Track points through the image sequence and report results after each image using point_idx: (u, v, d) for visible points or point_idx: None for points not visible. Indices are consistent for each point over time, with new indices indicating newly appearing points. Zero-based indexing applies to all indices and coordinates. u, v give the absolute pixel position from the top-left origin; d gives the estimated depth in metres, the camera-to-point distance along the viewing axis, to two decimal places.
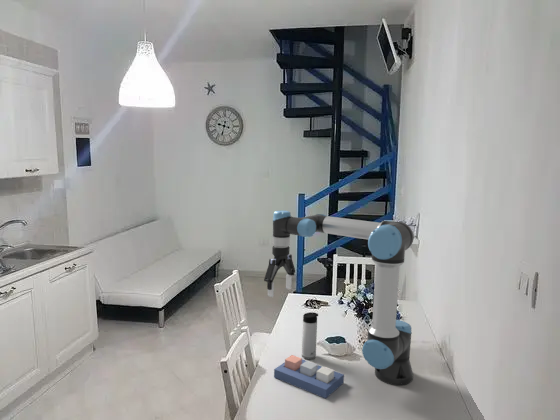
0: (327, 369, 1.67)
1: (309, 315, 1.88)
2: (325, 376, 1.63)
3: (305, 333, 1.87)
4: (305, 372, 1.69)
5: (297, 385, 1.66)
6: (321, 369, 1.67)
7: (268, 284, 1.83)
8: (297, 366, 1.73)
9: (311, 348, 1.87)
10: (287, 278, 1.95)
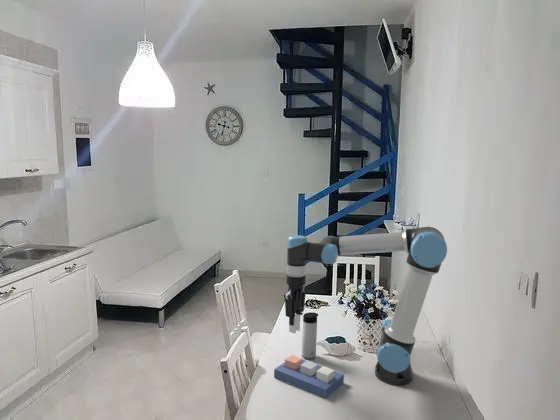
0: (327, 369, 1.67)
1: (309, 315, 1.88)
2: (325, 376, 1.63)
3: (305, 333, 1.87)
4: (305, 372, 1.69)
5: (297, 385, 1.66)
6: (321, 369, 1.67)
7: (290, 319, 1.70)
8: (297, 366, 1.73)
9: (311, 348, 1.87)
10: None
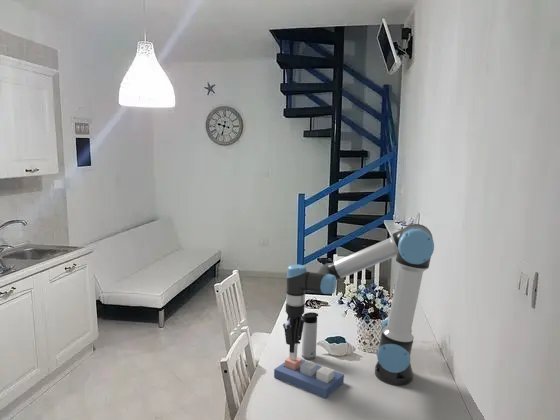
0: (327, 369, 1.67)
1: (309, 315, 1.88)
2: (325, 376, 1.63)
3: (305, 333, 1.87)
4: (305, 372, 1.69)
5: (297, 385, 1.66)
6: (321, 369, 1.67)
7: (290, 347, 1.72)
8: (297, 367, 1.73)
9: (311, 348, 1.87)
10: None
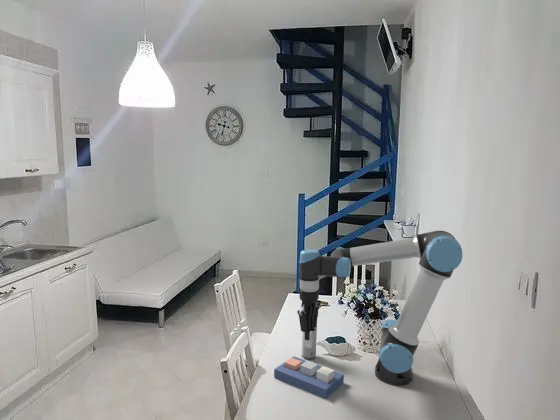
0: (327, 369, 1.67)
1: None
2: (325, 376, 1.63)
3: None
4: (305, 372, 1.69)
5: (297, 385, 1.66)
6: (321, 369, 1.67)
7: (305, 334, 1.68)
8: (297, 369, 1.73)
9: (311, 348, 1.87)
10: None
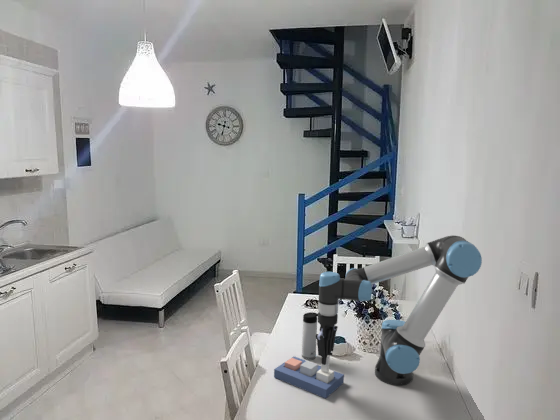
0: None
1: (309, 315, 1.88)
2: (325, 377, 1.63)
3: (305, 333, 1.87)
4: (305, 372, 1.69)
5: (297, 385, 1.66)
6: None
7: (322, 358, 1.64)
8: (297, 369, 1.73)
9: (311, 348, 1.87)
10: None
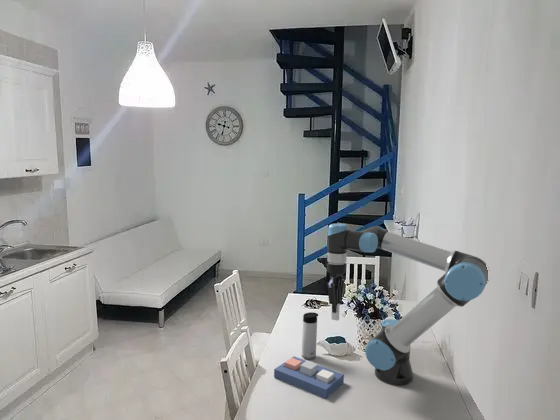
0: (327, 372, 1.67)
1: (309, 315, 1.88)
2: (325, 379, 1.63)
3: (305, 333, 1.87)
4: (305, 372, 1.69)
5: (297, 385, 1.66)
6: (321, 372, 1.67)
7: (333, 307, 1.71)
8: (297, 369, 1.73)
9: (311, 348, 1.87)
10: None
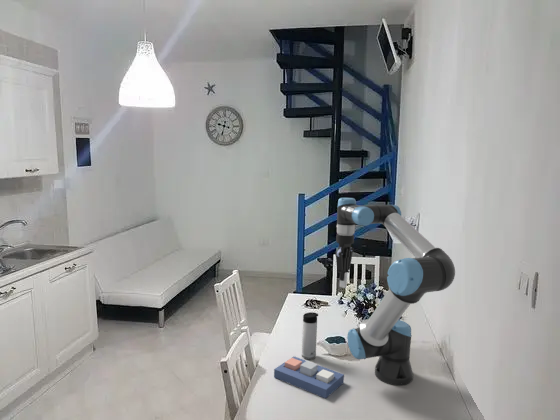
0: (327, 372, 1.67)
1: (309, 315, 1.88)
2: (325, 379, 1.63)
3: (305, 333, 1.87)
4: (305, 372, 1.69)
5: (297, 385, 1.66)
6: (321, 372, 1.67)
7: (341, 275, 1.84)
8: (297, 369, 1.73)
9: (311, 348, 1.87)
10: None
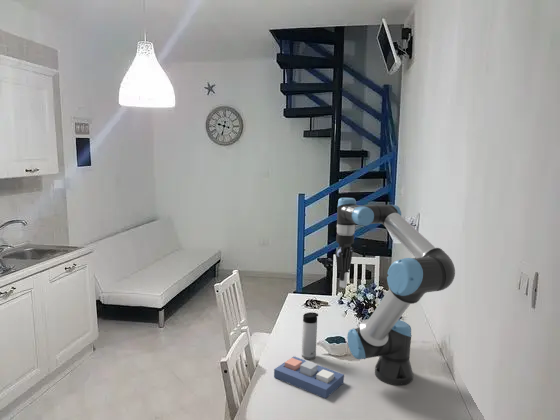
0: (327, 372, 1.67)
1: (309, 315, 1.88)
2: (325, 379, 1.63)
3: (305, 333, 1.87)
4: (305, 372, 1.69)
5: (297, 385, 1.66)
6: (321, 372, 1.67)
7: (341, 275, 1.84)
8: (297, 369, 1.73)
9: (311, 348, 1.87)
10: None
